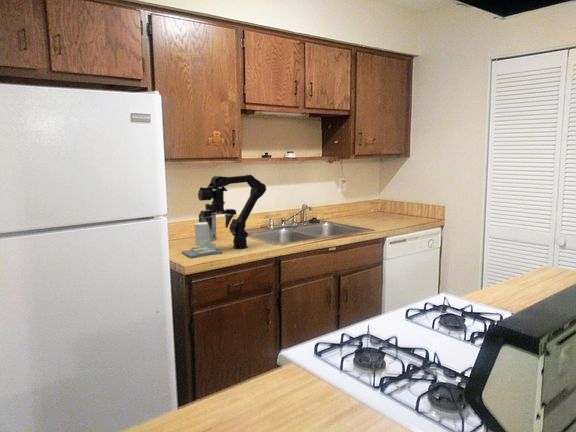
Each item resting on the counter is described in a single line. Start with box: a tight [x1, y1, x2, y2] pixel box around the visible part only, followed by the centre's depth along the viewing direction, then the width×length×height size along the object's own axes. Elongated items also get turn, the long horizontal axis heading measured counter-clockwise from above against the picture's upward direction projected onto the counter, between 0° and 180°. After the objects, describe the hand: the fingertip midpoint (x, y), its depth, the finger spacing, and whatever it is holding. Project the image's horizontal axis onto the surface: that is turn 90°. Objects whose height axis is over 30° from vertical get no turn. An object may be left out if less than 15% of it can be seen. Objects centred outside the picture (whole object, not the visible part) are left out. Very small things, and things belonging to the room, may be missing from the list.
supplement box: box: [194, 221, 211, 247], centre depth 243 cm, size 7×7×13 cm
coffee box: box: [198, 213, 217, 242], centre depth 256 cm, size 9×6×16 cm
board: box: [181, 245, 223, 259], centre depth 222 cm, size 18×13×4 cm
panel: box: [190, 240, 217, 254], centre depth 222 cm, size 9×12×4 cm
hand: (218, 228), depth 226 cm, fingers open, 9 cm apart
